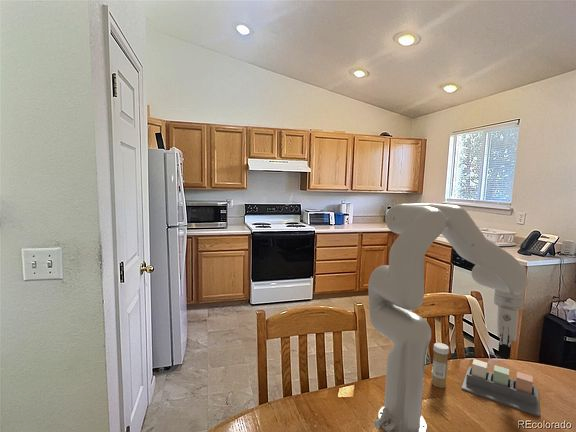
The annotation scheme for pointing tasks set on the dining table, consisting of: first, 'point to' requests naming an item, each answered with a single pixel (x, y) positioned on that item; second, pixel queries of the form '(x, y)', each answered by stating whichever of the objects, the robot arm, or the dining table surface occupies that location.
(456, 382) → the dining table surface
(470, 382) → the button panel
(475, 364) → the cream button
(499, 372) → the green button
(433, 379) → the sprinkles bottle
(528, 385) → the terracotta button
